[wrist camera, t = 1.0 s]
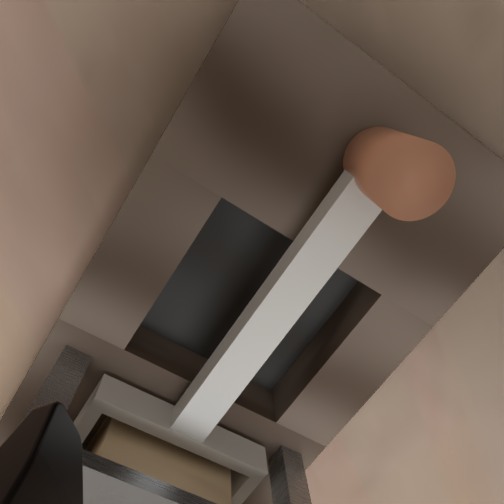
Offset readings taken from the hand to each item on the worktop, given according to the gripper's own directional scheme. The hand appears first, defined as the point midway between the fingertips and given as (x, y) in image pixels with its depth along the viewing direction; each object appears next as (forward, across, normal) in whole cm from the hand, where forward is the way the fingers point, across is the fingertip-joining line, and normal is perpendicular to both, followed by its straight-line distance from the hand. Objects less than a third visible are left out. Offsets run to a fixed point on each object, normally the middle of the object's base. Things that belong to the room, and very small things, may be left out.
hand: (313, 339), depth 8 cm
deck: (+12, +6, +12) cm, 18 cm away
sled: (+9, +2, +7) cm, 12 cm away
